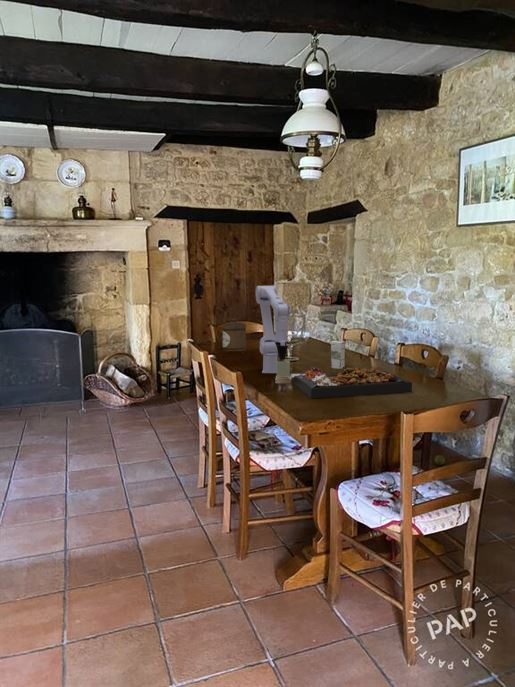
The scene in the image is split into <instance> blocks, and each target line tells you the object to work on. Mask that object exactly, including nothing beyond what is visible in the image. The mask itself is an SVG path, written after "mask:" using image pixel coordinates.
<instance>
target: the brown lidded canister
mask: <svg viewBox="0 0 515 687" xmlns="http://www.w3.org/2000/svg"><path fill="white" fill-rule="evenodd" d="M230 320H231V321H230V323H223V324H222V326H221V328H222V329H221V330H222V342H221V343H222V350H223V349H224V350H227V351H243V350H246V351H247V330H246V328H247V326H246V323H239V322H238V321H237V318H235V317H233V318H231V319H230Z"/></svg>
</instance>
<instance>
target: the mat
mask: <svg viewBox="0 0 515 687" xmlns="http://www.w3.org/2000/svg"><path fill="white" fill-rule="evenodd" d="M301 374H303V375H305V373H290V375H291V379H292V378H293V379H294V376H299V375H301Z"/></svg>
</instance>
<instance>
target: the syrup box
mask: <svg viewBox="0 0 515 687" xmlns="http://www.w3.org/2000/svg"><path fill="white" fill-rule="evenodd" d="M345 346H346V342H345V340H335V339H334V340H332V341H331V342H330V368H331V369H337V370H338V369H339V370H341V369H344V368H346V367H345V353H346V349H345V348H346V347H345ZM343 367H344V368H343Z"/></svg>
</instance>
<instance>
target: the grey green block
mask: <svg viewBox="0 0 515 687" xmlns="http://www.w3.org/2000/svg"><path fill="white" fill-rule="evenodd" d="M290 368H291V361H289V360H286V361H285V360H277V373H276V375H277V376H288V377H290V375H291V369H290Z"/></svg>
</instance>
